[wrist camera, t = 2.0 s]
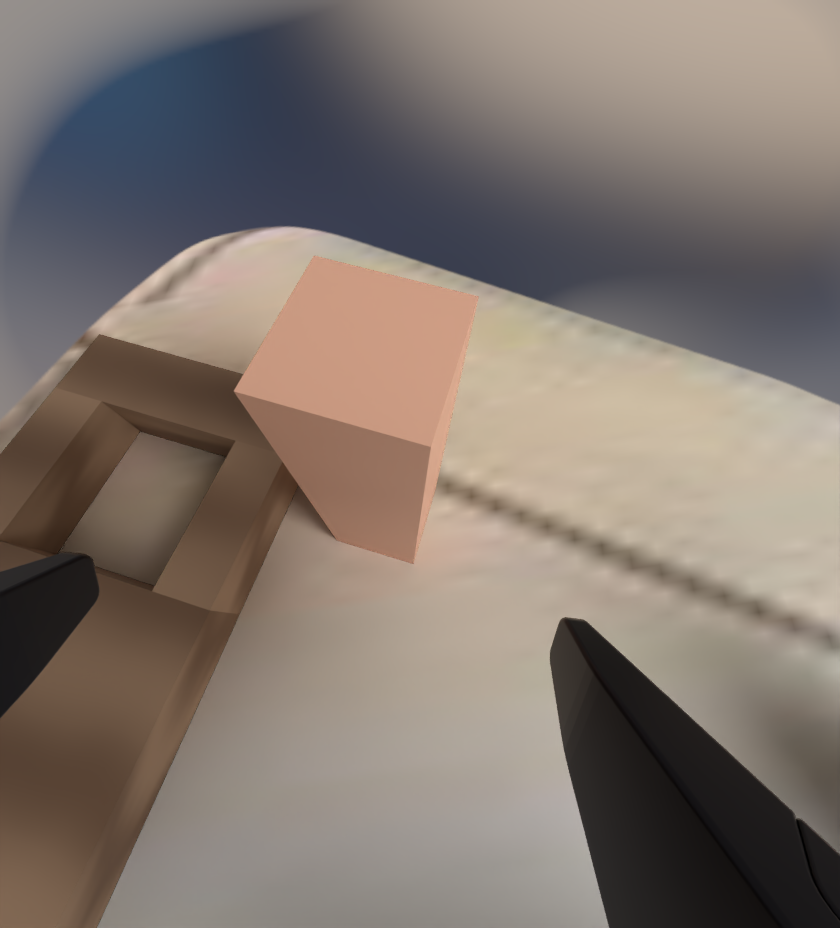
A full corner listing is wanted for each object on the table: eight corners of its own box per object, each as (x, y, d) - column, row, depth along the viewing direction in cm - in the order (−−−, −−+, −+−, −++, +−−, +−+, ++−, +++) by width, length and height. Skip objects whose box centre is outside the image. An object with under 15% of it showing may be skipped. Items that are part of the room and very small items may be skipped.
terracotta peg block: (413, 563, 19) (431, 446, 7) (336, 540, 19) (233, 390, 8) (435, 490, 21) (478, 296, 9) (364, 470, 21) (314, 255, 9)
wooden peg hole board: (43, 1044, 12) (-58, 1160, 10) (-263, 908, 13) (-433, 978, 11) (325, 424, 22) (314, 394, 19) (135, 370, 23) (99, 334, 20)
